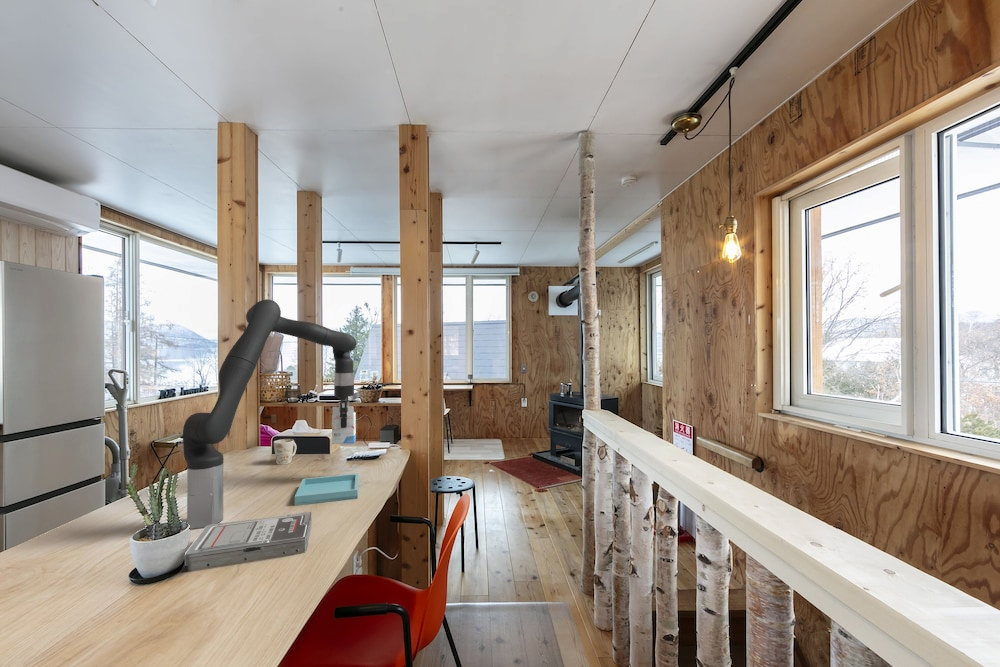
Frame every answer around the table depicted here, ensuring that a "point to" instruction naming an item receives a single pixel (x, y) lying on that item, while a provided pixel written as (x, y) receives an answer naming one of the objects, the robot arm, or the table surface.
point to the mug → (284, 451)
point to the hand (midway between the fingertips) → (344, 426)
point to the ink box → (340, 433)
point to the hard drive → (249, 541)
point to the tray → (327, 489)
